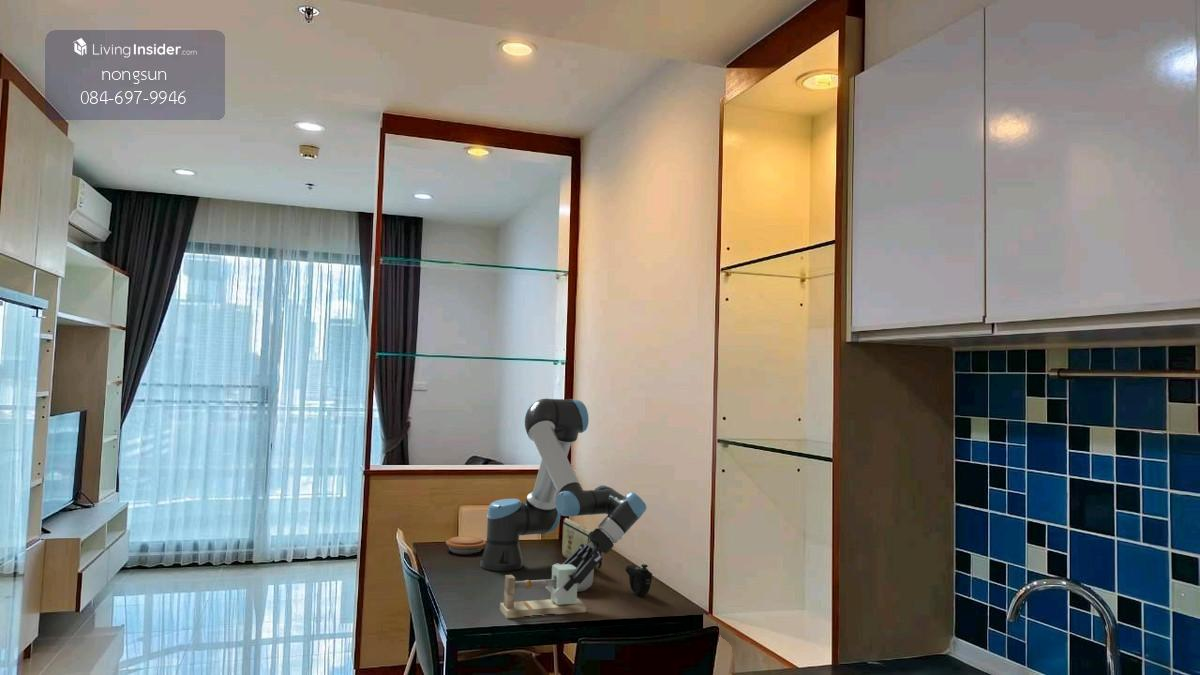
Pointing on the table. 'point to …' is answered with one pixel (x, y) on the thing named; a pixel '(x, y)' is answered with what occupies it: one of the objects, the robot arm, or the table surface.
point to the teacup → (584, 581)
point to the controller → (639, 579)
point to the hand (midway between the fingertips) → (552, 593)
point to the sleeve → (561, 575)
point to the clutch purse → (574, 538)
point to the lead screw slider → (536, 606)
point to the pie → (465, 544)
